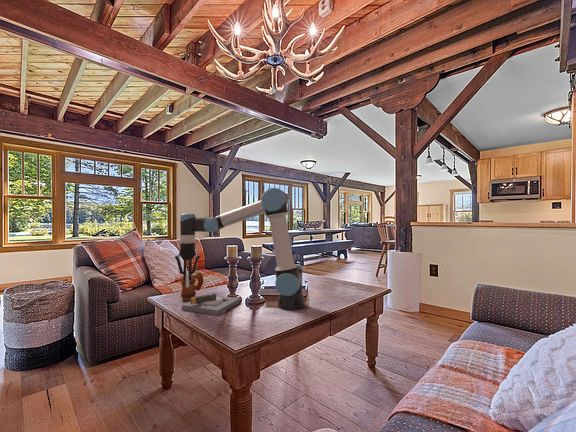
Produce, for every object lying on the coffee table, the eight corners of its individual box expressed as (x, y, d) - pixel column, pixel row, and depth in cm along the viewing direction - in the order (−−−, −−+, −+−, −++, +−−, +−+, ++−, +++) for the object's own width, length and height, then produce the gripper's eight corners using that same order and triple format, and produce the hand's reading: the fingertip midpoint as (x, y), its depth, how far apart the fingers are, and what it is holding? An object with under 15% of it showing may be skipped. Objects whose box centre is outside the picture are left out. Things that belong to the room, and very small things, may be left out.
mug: (185, 302, 164) (185, 276, 163) (176, 300, 168) (177, 274, 168) (206, 297, 175) (206, 272, 175) (198, 294, 180) (198, 270, 180)
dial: (216, 299, 166) (216, 290, 166) (226, 304, 158) (226, 294, 158) (186, 305, 155) (186, 295, 155) (195, 311, 146) (195, 300, 146)
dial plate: (239, 302, 165) (240, 297, 165) (217, 315, 144) (217, 309, 144) (207, 298, 173) (207, 293, 173) (181, 309, 152) (182, 304, 152)
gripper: (200, 241, 160) (200, 284, 160) (175, 242, 157) (175, 285, 157) (200, 243, 152) (199, 287, 153) (173, 243, 149) (173, 289, 150)
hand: (187, 286), depth 155 cm, fingers closed
